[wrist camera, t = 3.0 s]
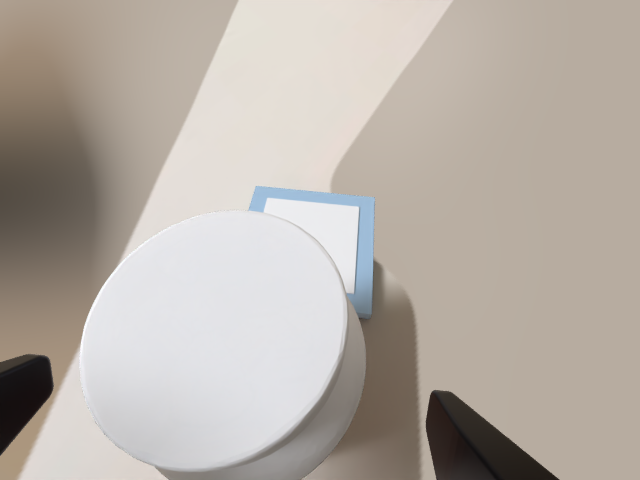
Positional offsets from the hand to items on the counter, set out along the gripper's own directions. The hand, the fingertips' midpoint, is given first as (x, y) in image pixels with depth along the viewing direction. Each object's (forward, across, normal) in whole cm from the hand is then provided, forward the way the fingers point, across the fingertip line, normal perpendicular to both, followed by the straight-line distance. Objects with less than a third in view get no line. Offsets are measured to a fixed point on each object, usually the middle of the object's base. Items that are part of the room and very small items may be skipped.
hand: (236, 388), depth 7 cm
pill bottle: (+7, 0, +6) cm, 9 cm away
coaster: (+12, 0, 0) cm, 12 cm away
